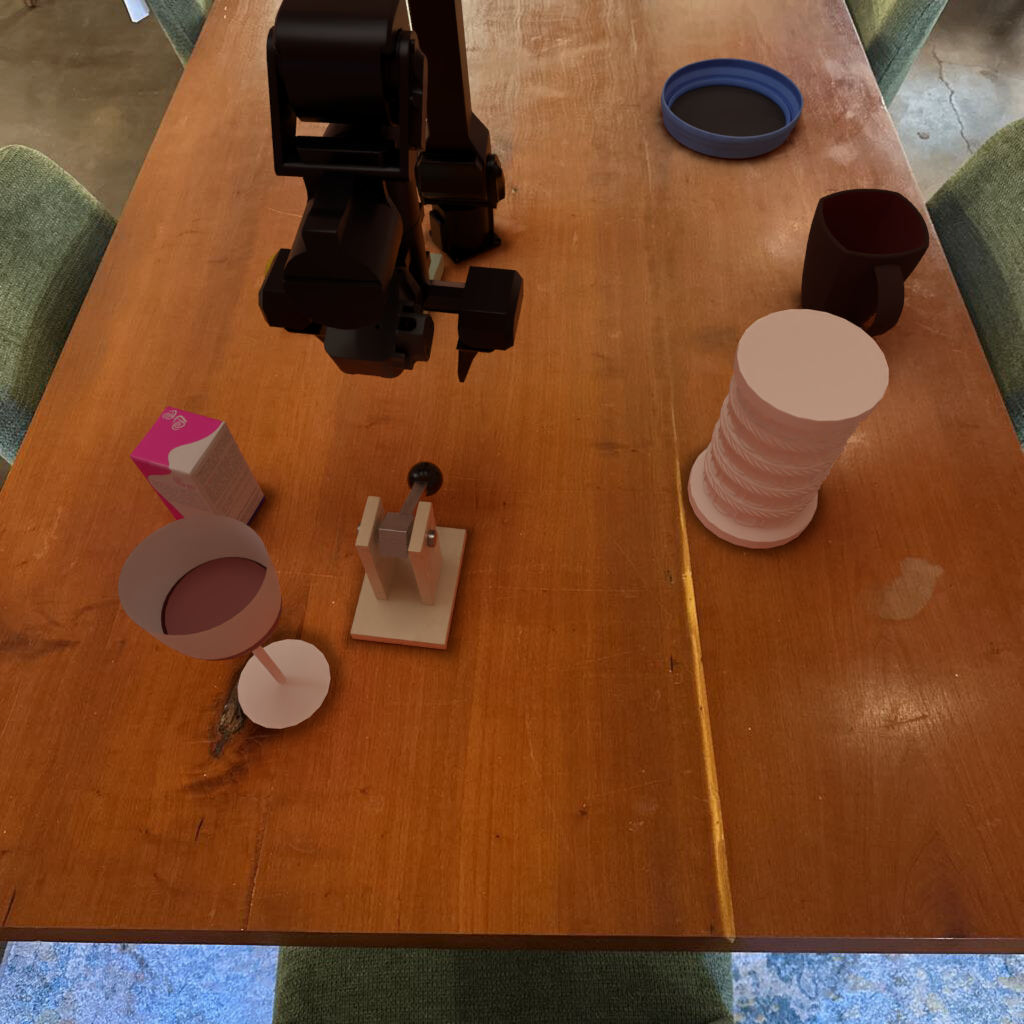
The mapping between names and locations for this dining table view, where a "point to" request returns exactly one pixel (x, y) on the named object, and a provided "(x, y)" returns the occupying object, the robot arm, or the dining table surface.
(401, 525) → the lever
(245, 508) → the supplement box
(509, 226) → the dining table surface
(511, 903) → the dining table surface
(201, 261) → the dining table surface
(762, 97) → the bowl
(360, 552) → the bracket
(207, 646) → the wineglass
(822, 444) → the decorative container
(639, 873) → the dining table surface
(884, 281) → the cup
